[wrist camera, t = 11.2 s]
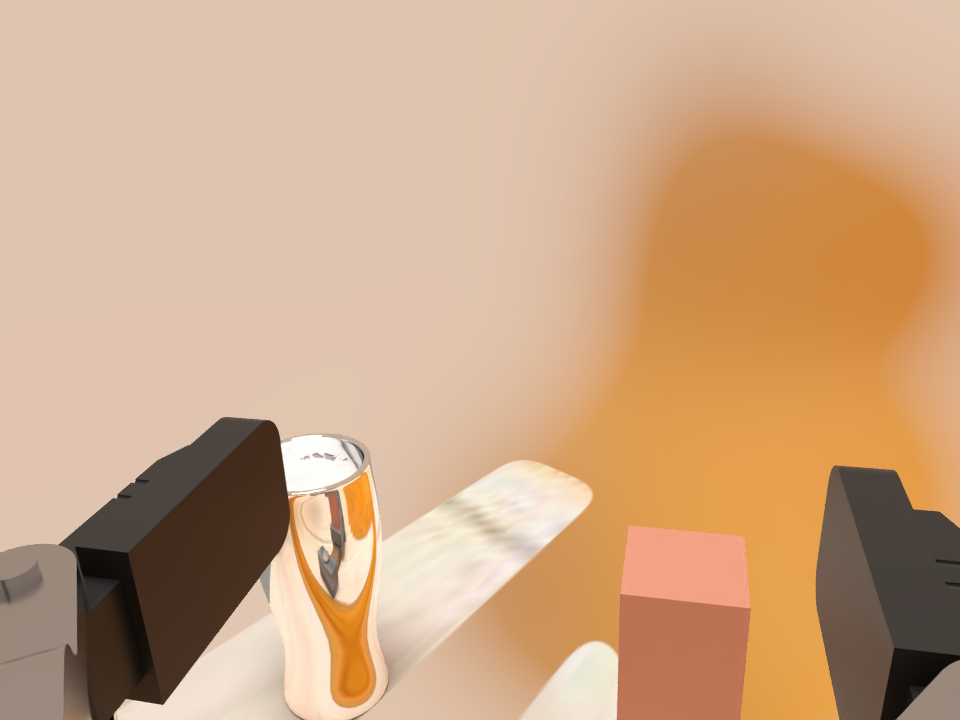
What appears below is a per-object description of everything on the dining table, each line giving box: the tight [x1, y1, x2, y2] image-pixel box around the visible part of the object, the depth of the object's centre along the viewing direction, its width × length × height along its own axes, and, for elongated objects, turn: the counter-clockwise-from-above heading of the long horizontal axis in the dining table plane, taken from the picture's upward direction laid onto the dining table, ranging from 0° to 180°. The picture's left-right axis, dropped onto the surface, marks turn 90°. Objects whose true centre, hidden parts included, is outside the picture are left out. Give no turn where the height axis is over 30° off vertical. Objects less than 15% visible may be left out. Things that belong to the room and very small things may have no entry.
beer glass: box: [259, 434, 388, 720], centre depth 47 cm, size 7×7×15 cm
